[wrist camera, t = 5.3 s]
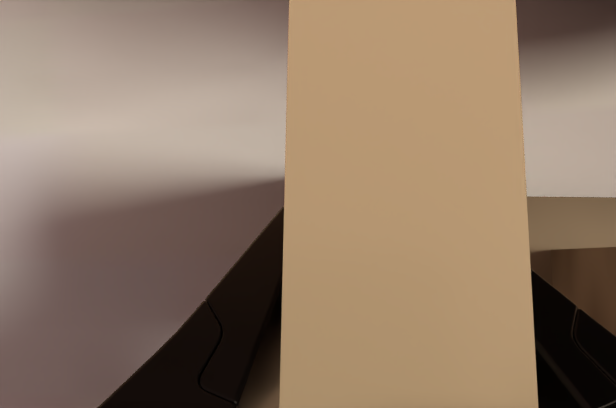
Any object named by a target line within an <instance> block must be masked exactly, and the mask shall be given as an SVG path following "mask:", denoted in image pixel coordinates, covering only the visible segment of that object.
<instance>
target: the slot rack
mask: <svg viewBox="0 0 616 408" xmlns="http://www.w3.org/2000/svg"><path fill="white" fill-rule="evenodd" d="M527 213H528V231H529V248H530V266H531V269H532V270H533V271H534V272H536V273H537V274H538V275H539V276H541V277H542V278H543V279H544V280H546V281H547V282H548V283H549V284H551V285H552V286H553V287H554V288H556V289H557V290H558V291H559V292H561V293H562V294H563V295H564V296H566V297H567V298H568V299H569V300H571V301H572V302H573V303H574V304H576V305H577V307H578V308H577V309H582V310H583V311H584V312H586V313H587V314H588V315H589V316H591V317H592V318H593V319H594V320H596V321H597V322H598V323H600V324H601V325H602V326H603V327H605V328H606V329H607V330H609V331H610V332H611V333H613V334H614V335H615V336H616V198H601V197H527Z"/></svg>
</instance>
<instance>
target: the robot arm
mask: <svg viewBox="0 0 616 408" xmlns="http://www.w3.org/2000/svg"><path fill="white" fill-rule="evenodd" d="M283 235H284V207H283V208H282V209H281V210H280V211H279V212H278V213H277V215H276V216H275V217H274V218H273V219H272V221H271V222H270V223H269V224H268V225H267V226H266V228H265V229H264V230H263V231H262V232H261V234H260V235H259V236H258V237H257V238H256V240H255V241H254V242H253V243H252V244H251V245H250V247H249V248H248V249H247V250H246V251H245V253H244V254H243V255H242V256H241V257H240V259H239V260H238V261H237V262H236V263H235V264H234V266H233V267H232V268H231V269H230V270H229V272H228V273H227V274H226V275H225V276H224V278H223V279H222V280H221V281H220V282H219V283H218V285H217V286H216V287H215V288H214V289H213V291H212V292H211V293H210V294H209V295H208V297H207V298H206V299H205V301H203V302H202V303H201V305H200V306H199V307H198V308H197V309H196V311H195V312H194V313H193V314H192V315H191V316H190V317H189V318H188V320H187V321H186V322H185V323H184V324H183V325H182V326H181V327H180V329H179V330H178V331H177V332H176V333H175V334H174V335H173V336H172V337H171V338H170V339H169V340H168V341H167V342H166V343H165V344H164V345H163V346H162V347H161V348H160V349H159V350H158V351H157V352H156V353H155V354H154V355H153V356H152V357H151V358H150V359H148V360H147V361H146V362H145V363H144V364H143V365H142V366H141V367H140V368H139V369H138V370H137V371H136V372H135V373H134V374H133V375H132V376H131V377H130V378H129V379H127V380H126V381H125V382H124V383H123V384H122V385H121V386H120V387H119V388H118V389H117V390H116V391H115V392H114V393H113V394H112V395H111V396H110V397H109V398H107V399H106V400H105V401H104V402H103V403H102V404H101V405H100V406H99V407H97V408H279V403H280V361H281V319H282V277H283ZM531 284H532V302H533V320H534V338H535V356H536V374H537V391H538V408H616V336H615V335H614V334H613V333H611V332H610V331H609V330H607V329H606V328H605V327H603V326H602V325H601V324H600V323H598V322H597V321H596V320H594V319H593V318H592V317H591V316H589V315H588V314H587V313H586V312H584V311H583V310H582V309H577V308H578V307H577V305H576V304H574V303H573V302H572V301H571V300H569V299H568V298H567V297H566V296H564V295H563V294H562V293H561V292H559V291H558V290H557V289H556V288H554V287H553V286H552V285H551V284H549V283H548V282H547V281H546V280H544V279H543V278H542V277H541V276H539V275H538V274H537V273H536V272H534V271H533V270H532V269H531Z"/></svg>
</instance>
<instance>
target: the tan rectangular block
mask: <svg viewBox="0 0 616 408" xmlns="http://www.w3.org/2000/svg"><path fill="white" fill-rule="evenodd" d="M279 408H538V391H537V374H536V356H535V338H534V320H533V302H532V284H531V266H530V248H529V231H528V213H527V195H526V177H525V159H524V141H523V123H522V105H521V88H520V70H519V52H518V34H517V16H516V0H289V25H288V67H287V109H286V151H285V193H284V235H283V277H282V319H281V361H280V403H279Z"/></svg>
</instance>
